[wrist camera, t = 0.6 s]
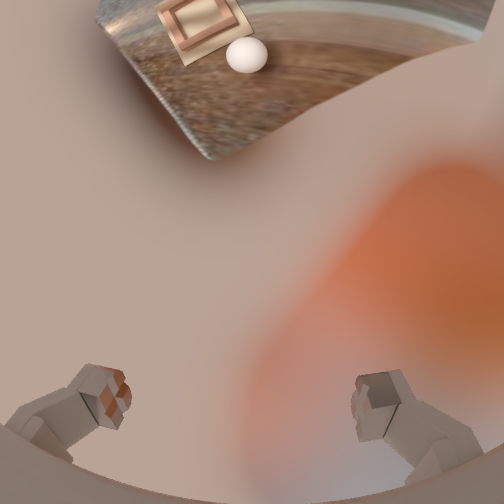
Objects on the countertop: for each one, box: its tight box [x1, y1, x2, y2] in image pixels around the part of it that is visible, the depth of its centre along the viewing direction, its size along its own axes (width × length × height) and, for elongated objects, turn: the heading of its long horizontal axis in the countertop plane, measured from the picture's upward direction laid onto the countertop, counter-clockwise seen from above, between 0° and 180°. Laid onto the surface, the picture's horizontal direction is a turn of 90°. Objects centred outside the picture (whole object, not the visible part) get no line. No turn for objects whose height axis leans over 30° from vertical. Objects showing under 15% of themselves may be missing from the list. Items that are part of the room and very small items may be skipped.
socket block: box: [154, 0, 254, 66], centre depth 35 cm, size 16×14×3 cm
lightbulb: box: [226, 37, 268, 73], centre depth 36 cm, size 6×6×11 cm
